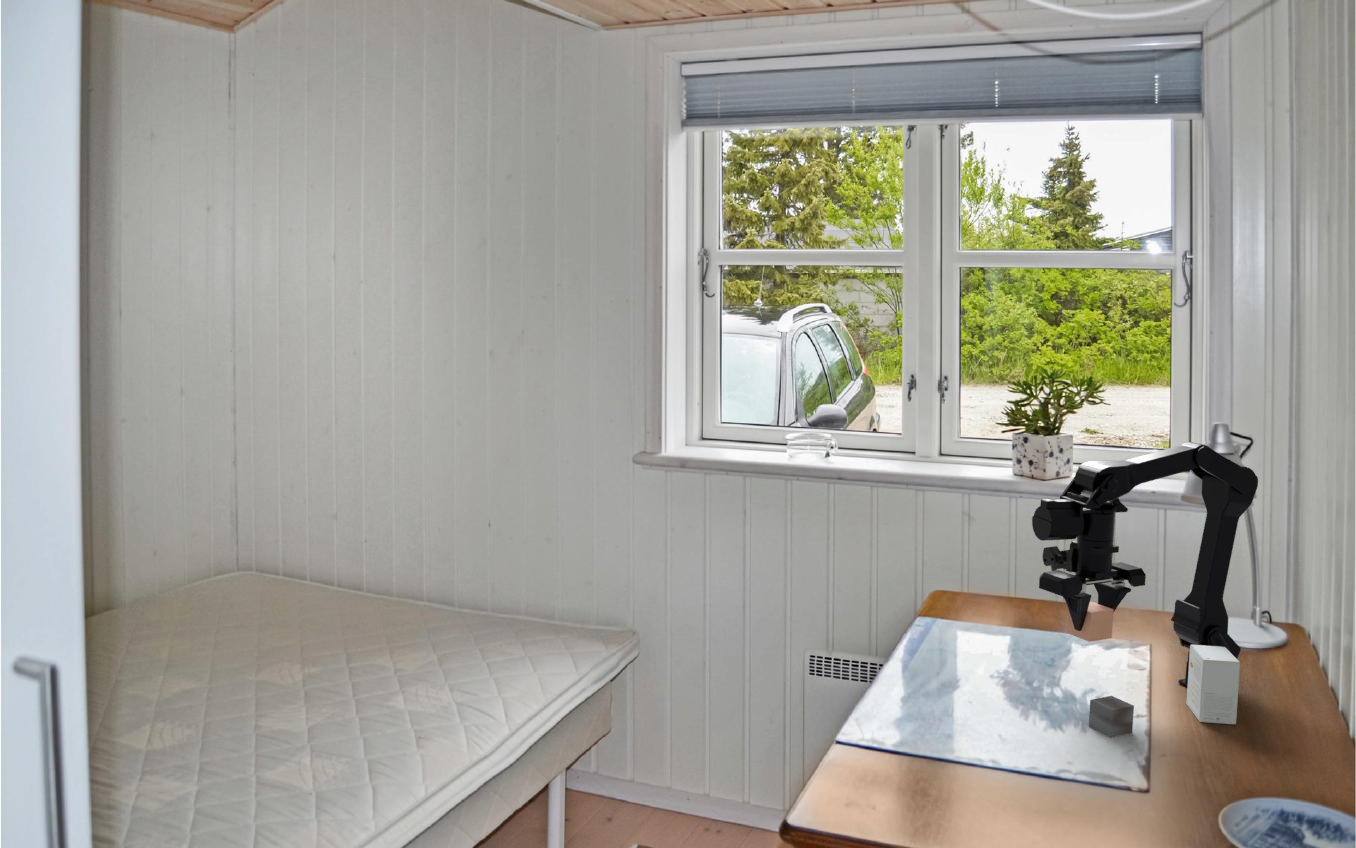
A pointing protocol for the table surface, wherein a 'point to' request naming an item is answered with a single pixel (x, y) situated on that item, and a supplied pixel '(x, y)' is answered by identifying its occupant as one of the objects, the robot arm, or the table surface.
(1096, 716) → the charcoal block
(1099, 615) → the terracotta block
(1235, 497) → the robot arm
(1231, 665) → the small box
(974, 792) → the table surface
